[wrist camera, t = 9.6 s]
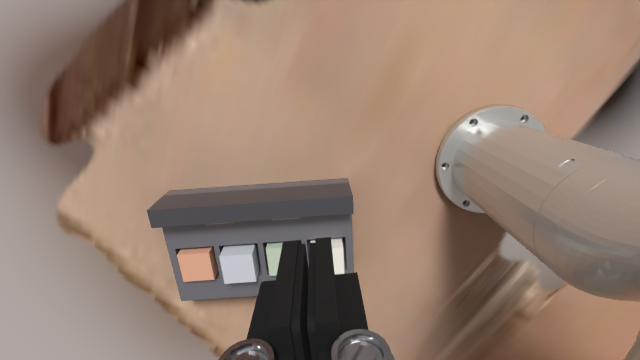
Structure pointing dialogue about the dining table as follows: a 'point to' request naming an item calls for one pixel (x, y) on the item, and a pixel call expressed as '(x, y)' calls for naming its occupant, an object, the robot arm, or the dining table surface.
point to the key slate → (239, 263)
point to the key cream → (336, 254)
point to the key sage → (273, 256)
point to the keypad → (252, 225)
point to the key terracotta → (197, 263)
